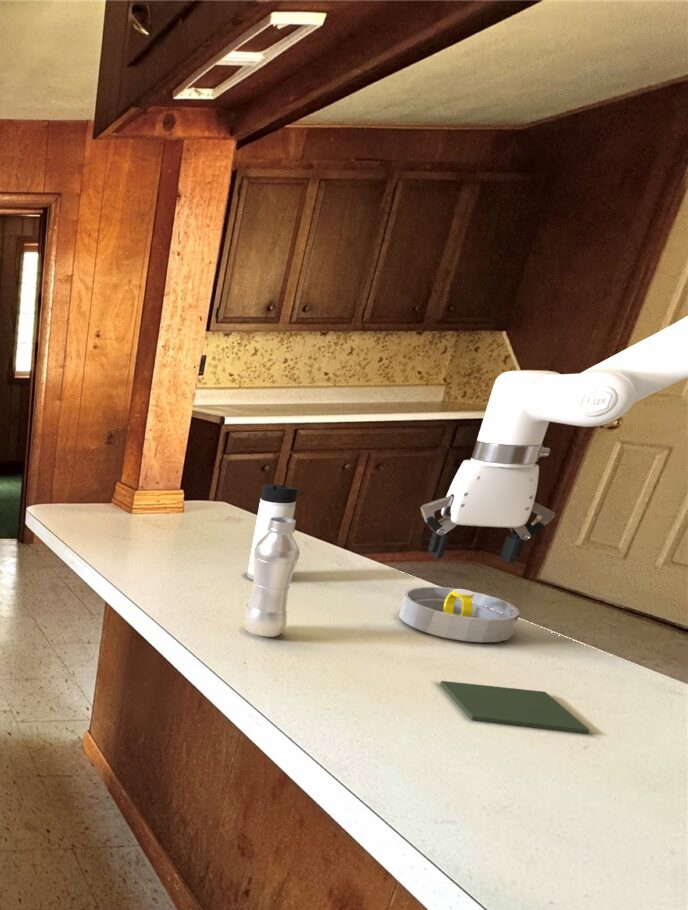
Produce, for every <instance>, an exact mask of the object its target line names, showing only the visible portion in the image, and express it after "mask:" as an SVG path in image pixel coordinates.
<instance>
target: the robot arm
mask: <svg viewBox="0 0 688 910" xmlns="http://www.w3.org/2000/svg"><path fill="white" fill-rule="evenodd" d="M685 379H688V315H687V316H684V317H683V318H681V319H680V320H678V321H676V322H674V323H673V324H671V325H668V326H667V327H666V328H664V329H662V330H660V331H658V332H656V333H654V334H652V335H650V336H648V337H647V338H644V339H642V340H641V341H639V342H636V343H635V344H633V345H630V346H629V347H628V348H625V349H623V350H621V351H620V352H618V353H616V354H614V355H612V356H610V357H609V358H607V359H604V360H603V361H601V362H599V363H597V364H594V365H593V366H591V367H589V368H587V369H585V370H584V371H582V372H579V373H564V374H563V373H562V374H561V373H560V372H557V371H551V370H535V369H533V370H532V369H522V370H521V369H519V370H518V369H517V370H508V371H504V372H502V373H501V374H499V375H498V376H497V378H496V379H495V382H494V384H493V387H492V390H491V393H490V395H489V399H488V403H487V406H486V410H485V412H484V416H483V420H482V421H481V422H482V423H481V425H480V429H479V431H478V436H477V439H476V441H475V445H474V449H473V452H472V455H471V458H470V459H464V460H463V461H462V463H461V464H460V467H459V468H458V470H457V472H456V474H455V475H454V478H453V480H452V482H451V484H450V486H449V489H448V491H447V494H446V496H445V497H442V498H439V499H436V500H433V501H431V502H427V503H424V504H422V505H421V506H420V508H419V509H420V512H421V514H422V518H423V522H424V523H426V525H427V526H428V527H429V528H430V530H431V531H432V534H431V538H430V541H429V545H428V551H429V554H430V555H431V556H433V557H434V558H435V559H439V560H440V559H442V558H443V557H444V554H445V552H446V548H447V544H448V541H449V535H447V533H448V532H450V531H451V530H453V529H454V528H456V527H457V526H467V527H468V526H469V527H470V526H471V527H486V528H487V527H489V528H507V529H508V530H510V532H511V534H507V535H506V537H505V539H504V542H503V543H504V544H503V546H502V549H501V552H500V554H499V558H500V559H501V560H502V561H505V562H506V563H508V564H515V562H516V560H517V558H519V557H520V555H521V552H522V549H523V547H524V543H525V541H527V540H529V539H531V538H532V537H531V536H534V535H535V534H537V533H539V532H540V531H542V530H543V529H544V528H545V526H546V525H547V524H548V523H550V522H551V521H552V520H553V519H554V518H555V517H556V513H555V512H554V511H553V510H550V509H549V508H547V507H544V506H543V505H541V504H539V503H537V502H535V499H536V494H537V490H538V483H539V475H540V465H539V464H537V463H536V462H538V460H539V458H542V457H548V456H549V455H550V453H551V449H550V448H549V447H544V445H543V441H544V438H545V436H546V433H547V430H548V427H549V424H550V422H552V423H558V424H563V425H570V426H576V427H585V428H587V427H590V428H591V427H601V426H603V425H606V424H610V423H612V422H615V421H617V420H618V419H620V418H621V417H622V416H624V415H626V414H627V412H628V411H629V410H630V409H631V408H632V406H633V405H634V403H636V402H639V401H640V400H643V399H645V398H647V397H650V396H651V395H653V394H656V393H657V392H659V391H662V390H663V389H666V388H668V387H670V386H672V385H674V384H677V383H679V382H681V381H684V380H685ZM439 510H441V511H440V514H441V516H442V517H441V518H439V520H438V519H437V518H436V517H435V516H436V515H435V512H436V511H439ZM532 512H533V513H535V514H536V517H535V518H534V520H531V521H530V522H528V521H529V519H530V516H531V513H532ZM527 522H528V523H527Z"/></svg>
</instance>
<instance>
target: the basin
mask: <svg viewBox="0 0 688 910" xmlns="http://www.w3.org/2000/svg"><path fill="white" fill-rule="evenodd" d="M454 589H456V588H453V587H445V586H444V587H443V586H417V587H413V588H409V589H407V590H405V591H404V592H403V596H402V600H401V603H400V607H399V612H398V617H399V619H400V620H401V621H402V622H403V623H405V624H407V625H408V626H410V627H412V628H414V629H417V630H419V631H421V632H424V633H426V634H429V635H432V636H436V637H438V638H439V637H440V638H445V639H447V640H448V639H449V640H452V641H453V640H454V641H461V642H469V643H499V642H504V641H508V640H509V639H510V638H511V637H513V634H514V631H515V629H516V626H517V623H518V620H519V617H520V610H519V608H518V607H516V606H515V605H514V604H512V603H511V602H508V601H506V600H503V599H502V598H499V597H495V596H493V595H489V594H485V593H482V592H476V591H472V590H470V591H471V592H473V593H474V596H473V598H471V599H472V604H473V611H472V615H471V617H466V616H460V615H461V612H462V601H461V598H459V597H457V599H456V601H455V604H454V610H453V613H454V615H453V614H449V613H445V612H444V611H443V609H444V604H445V600H446V598H447V596H448V595H449V594H450V593H451V592H453V590H454ZM485 606H487V607H485ZM490 608H492V609H494V610H491V609H490ZM497 611H498V612H497ZM500 612H502V613H500Z"/></svg>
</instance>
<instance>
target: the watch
mask: <svg viewBox="0 0 688 910" xmlns="http://www.w3.org/2000/svg"><path fill="white" fill-rule="evenodd" d="M471 591H472V590H469V589H463V588H455V589H454V590H453V592H451V593H450V594H449V595H448V596H447V598H446V600H445V604H444V609H443V611H444V612H445V613H449V614H453V615H454V613H453V610H454V604H455V601H456V599H457V597H459V598H461V601H462V612H461V615H460V616H466V617H471V615H472V611H473V604H472V599H471V598H473V596H474V593H473V592H474V591H472V592H471Z"/></svg>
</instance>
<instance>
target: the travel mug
mask: <svg viewBox="0 0 688 910" xmlns="http://www.w3.org/2000/svg"><path fill="white" fill-rule="evenodd" d="M298 493H299V488H298V487H296V486H295V487H291V486H290V487H289V486H286V485H284V484H277V483H263V485H262V491H261V495H260V498H259V503H258V504H259V505H258V509H257V510H258V511H257V516H256V520H255V521H256V522H255V527H254V533H253V538H252V544H251V551H250V556H249V561H248V568H247V572H246V576H247V578H248V579H250V580H251V581H253V575H254V550H255V547H256V545H257V543H258V542H259V541H260V540H261V539H262V538H263V537H264V536H265V535H267V534H268V533H269V531H268V530H267V529H268V526H269V522H270V519H271V518H273V517H284V518H290V519H294V514H295V510H296V504H297V496H298Z"/></svg>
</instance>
